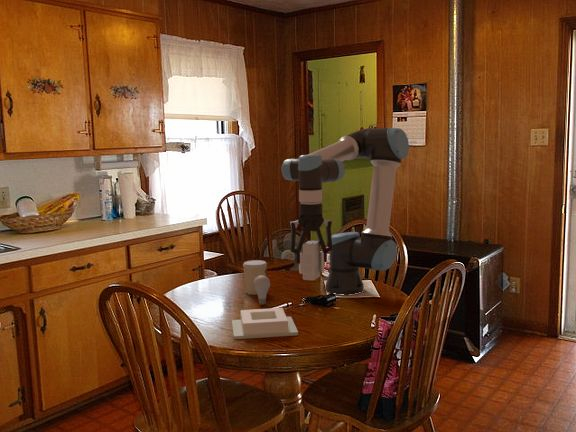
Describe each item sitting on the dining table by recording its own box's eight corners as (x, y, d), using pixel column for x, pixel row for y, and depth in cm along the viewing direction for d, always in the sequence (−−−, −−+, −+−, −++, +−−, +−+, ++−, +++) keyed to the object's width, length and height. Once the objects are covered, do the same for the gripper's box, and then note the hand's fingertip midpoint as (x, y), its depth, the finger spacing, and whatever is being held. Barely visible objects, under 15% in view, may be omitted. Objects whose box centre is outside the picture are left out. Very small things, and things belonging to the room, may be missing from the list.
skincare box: (308, 275, 197) (307, 240, 195) (321, 276, 195) (320, 240, 193) (302, 280, 191) (301, 243, 189) (315, 281, 189) (314, 244, 188)
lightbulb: (268, 307, 212) (267, 277, 211) (252, 306, 214) (251, 277, 212) (272, 302, 218) (271, 273, 217) (256, 302, 220) (255, 273, 218)
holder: (291, 319, 198) (290, 306, 198) (298, 335, 183) (298, 321, 182) (231, 322, 196) (231, 309, 195) (233, 339, 180) (233, 325, 179)
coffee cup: (271, 292, 232) (271, 262, 231) (251, 296, 227) (250, 266, 225) (259, 287, 240) (258, 259, 238) (239, 291, 235) (238, 262, 233)
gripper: (337, 200, 195) (337, 268, 198) (279, 202, 192) (280, 271, 195) (342, 203, 187) (342, 273, 190) (282, 205, 185) (283, 276, 188)
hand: (311, 272), depth 193 cm, fingers closed on skincare box, 6 cm apart
